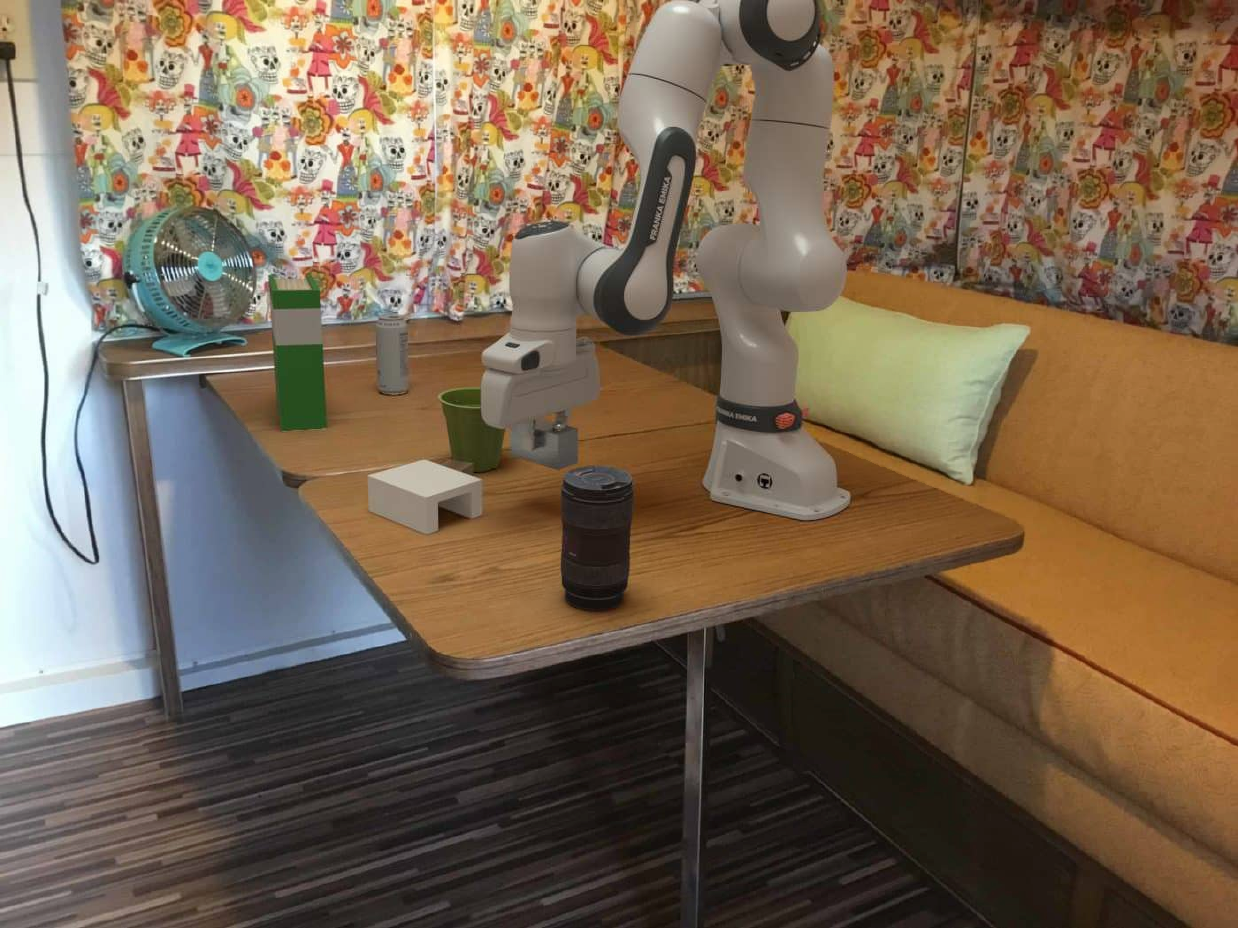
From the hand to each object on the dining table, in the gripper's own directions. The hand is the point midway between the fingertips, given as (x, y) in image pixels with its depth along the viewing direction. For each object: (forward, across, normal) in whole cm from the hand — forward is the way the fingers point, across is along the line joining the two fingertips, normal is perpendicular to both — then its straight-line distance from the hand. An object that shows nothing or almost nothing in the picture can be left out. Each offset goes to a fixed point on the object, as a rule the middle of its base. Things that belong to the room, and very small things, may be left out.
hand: (544, 444), depth 141 cm
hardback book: (+9, -2, -62) cm, 62 cm away
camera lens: (+10, +17, +24) cm, 30 cm away
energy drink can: (+10, -25, -64) cm, 70 cm away
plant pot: (+10, -6, -20) cm, 23 cm away
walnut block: (+10, +4, -14) cm, 18 cm away
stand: (+9, +13, -10) cm, 19 cm away
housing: (+2, 0, 0) cm, 2 cm away
